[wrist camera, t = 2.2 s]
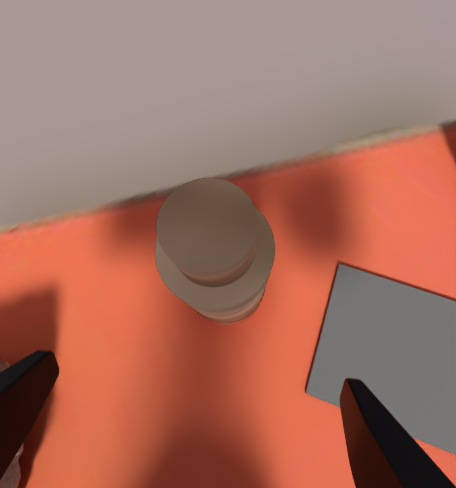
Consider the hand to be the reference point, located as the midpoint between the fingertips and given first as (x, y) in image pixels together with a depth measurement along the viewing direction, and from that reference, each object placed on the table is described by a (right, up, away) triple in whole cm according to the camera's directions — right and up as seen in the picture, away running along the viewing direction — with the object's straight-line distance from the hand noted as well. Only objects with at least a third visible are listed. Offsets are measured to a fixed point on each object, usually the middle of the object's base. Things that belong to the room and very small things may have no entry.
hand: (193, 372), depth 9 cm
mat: (+12, -3, +10) cm, 16 cm away
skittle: (+1, +1, +12) cm, 12 cm away
